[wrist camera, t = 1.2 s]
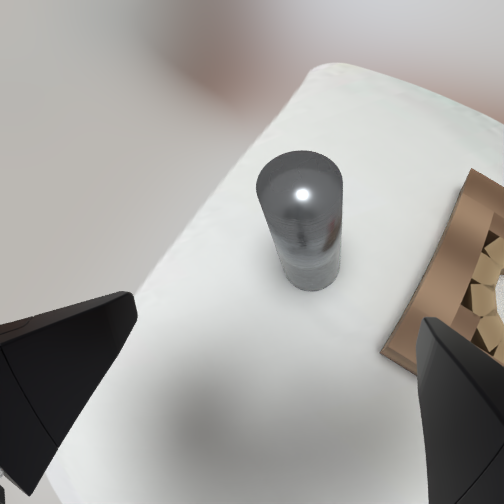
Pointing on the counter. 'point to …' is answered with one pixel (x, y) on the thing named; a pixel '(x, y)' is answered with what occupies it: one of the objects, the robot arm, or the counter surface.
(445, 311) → the bearing housing
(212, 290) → the counter surface
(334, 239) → the steel roller
